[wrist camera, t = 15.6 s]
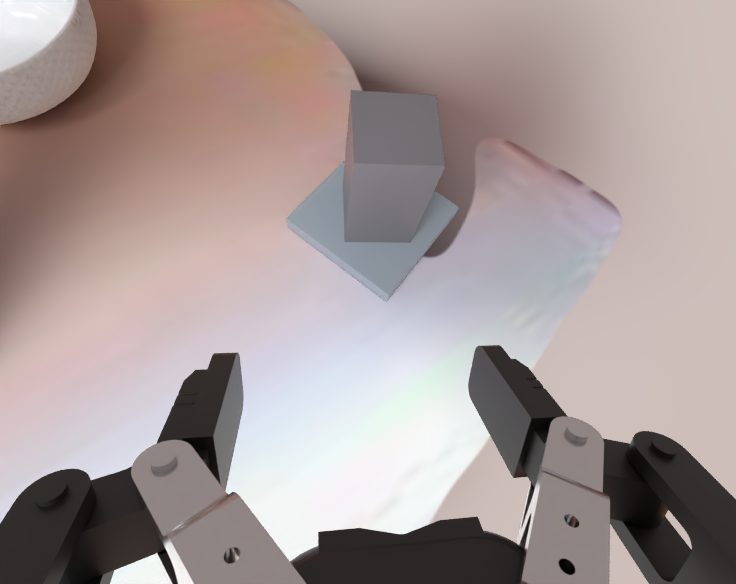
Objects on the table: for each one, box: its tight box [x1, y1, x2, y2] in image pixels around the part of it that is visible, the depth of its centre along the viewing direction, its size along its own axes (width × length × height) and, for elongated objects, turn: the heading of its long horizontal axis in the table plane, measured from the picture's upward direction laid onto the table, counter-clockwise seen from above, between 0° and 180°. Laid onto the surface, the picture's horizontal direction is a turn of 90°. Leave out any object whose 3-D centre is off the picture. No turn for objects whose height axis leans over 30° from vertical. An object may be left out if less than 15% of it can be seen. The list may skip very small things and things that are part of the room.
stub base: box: [287, 161, 459, 302], centre depth 30 cm, size 10×10×6 cm
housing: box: [343, 90, 445, 243], centre depth 27 cm, size 5×5×10 cm
